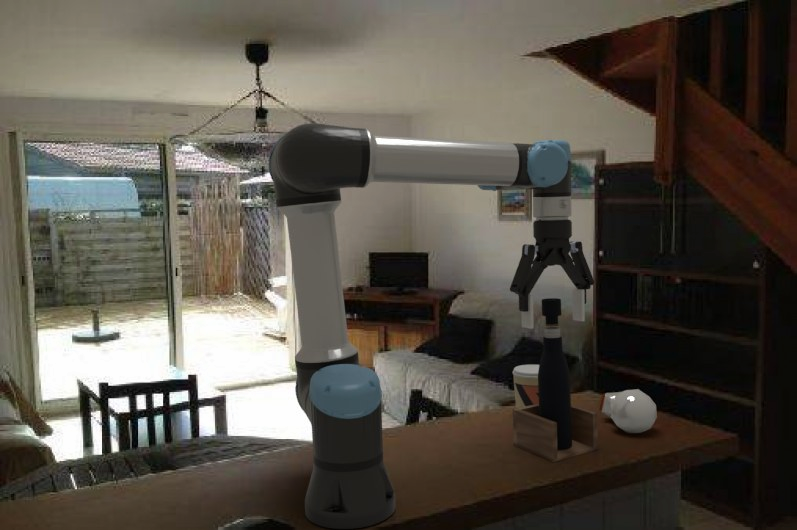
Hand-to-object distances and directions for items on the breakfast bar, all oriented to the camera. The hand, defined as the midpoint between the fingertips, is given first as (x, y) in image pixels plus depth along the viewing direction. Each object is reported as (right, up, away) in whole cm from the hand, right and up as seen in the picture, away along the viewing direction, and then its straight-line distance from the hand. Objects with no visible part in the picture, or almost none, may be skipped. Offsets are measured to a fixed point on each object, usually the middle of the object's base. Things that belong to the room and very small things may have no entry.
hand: (553, 324), depth 139 cm
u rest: (+1, -26, +2) cm, 26 cm away
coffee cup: (0, -24, +22) cm, 33 cm away
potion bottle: (+19, -24, +13) cm, 33 cm away
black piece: (+1, -25, +2) cm, 25 cm away
